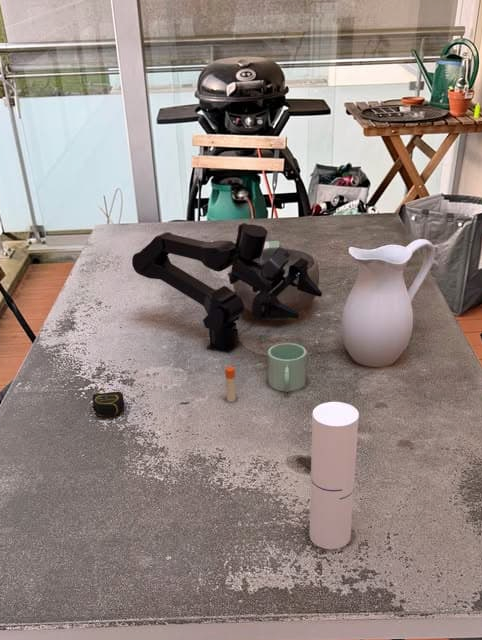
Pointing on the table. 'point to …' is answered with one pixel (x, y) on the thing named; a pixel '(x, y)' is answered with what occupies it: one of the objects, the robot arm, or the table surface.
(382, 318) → the pitcher
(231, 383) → the marker
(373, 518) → the table surface
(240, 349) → the table surface
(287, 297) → the bowl
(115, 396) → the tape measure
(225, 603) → the table surface
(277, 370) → the green handled mug
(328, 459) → the cylindrical container
